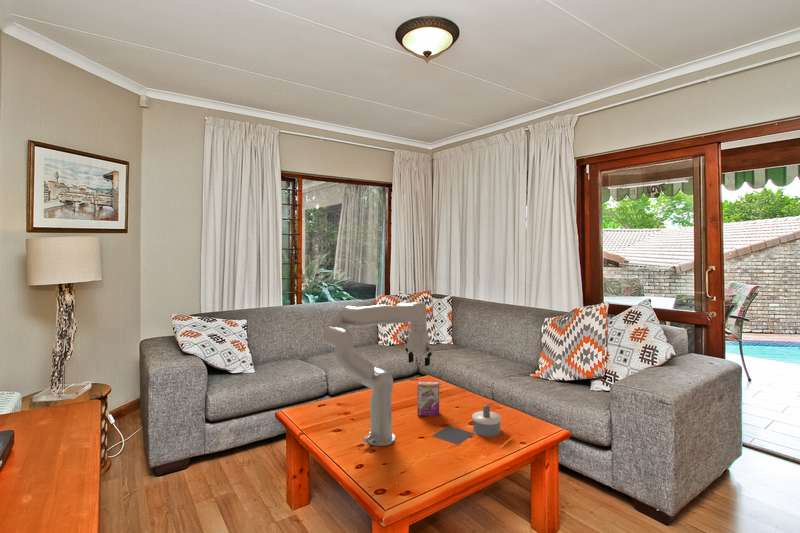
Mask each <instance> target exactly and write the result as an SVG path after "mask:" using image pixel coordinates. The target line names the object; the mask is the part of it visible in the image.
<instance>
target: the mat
mask: <svg viewBox="0 0 800 533" xmlns="http://www.w3.org/2000/svg"><path fill="white" fill-rule="evenodd" d="M475 434H476V433H475V432H471V431H468V430H466V429H462V428H459V427H456V426H451V425H447V426H445V427H444V428H442V429H440V430H439V431H436V433H434V434H432V435H431V437H433V438H436V439H440V440H443V441H446V442H449V443H452V444H455V445H457V446H459V445H460V444H461V443H463V442H464V441H466V440H467V439H469V438H470V437H472V436H473V435H475Z"/></svg>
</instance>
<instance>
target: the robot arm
mask: <svg viewBox="0 0 800 533" xmlns="http://www.w3.org/2000/svg"><path fill="white" fill-rule="evenodd" d="M407 323H410V324H409V326H408V327H409V328H410V330H409V331H408V335H407V336H408V337H407V342H406V343H404V344H403V347H404V348H405V351H406V352H407V355H408V363H409V364H411V363H413V362H415V361H414V360H415V356H414V353H416V354H423V355H424V356H425V358H424V367H428V366H430V365H431V357H432V355H433V354H434V352H435V348H434V347H433V346H431V344H430V337H429V333H428V330H427V329H428V328H427V304H426V302H424V301H413V302H400V303H397V304H396V305H389V304H387V305H386V304H377V305H368V306H352V305H347V306H344V307H343V308H341V309H340V311H339V312H338V313H336V315H335V316H334V317H333V318H332V320H330V322H329V323H328V324H327V325H326V326H325V328H324V330H323V332H322V336H321V337H322V340H323V342H324V343H325V344H326V345H328V346H330V347H334V348H335V360H336V363H337V364H338V365H339V366H340V367H341V368H343V371H344V373H345V374H346V375H347V376H349V377H350V378H352V379H353V380H355V381H356V382H358V383H360V384H361V385H363V386H365V387H367V388H369V389H371V390H372V393H371V395H370V399H369V408H370V410H369V412H370V415H369V416H370V422H369V423H370V431H369V432H368V435H367V436H366V437H364V438H363V443H364V444H365V443H368V444H369V445H372V446H375V447H386V446H389V445H392V444H394V442H395V441H396V438H397V437H396V435H395V434H394V433H393V421H392V420H393V417H392V415H393V413H392V412H393V411H392V407H393V406H392V393H393V386H394V379H393V375H392V374H391V373H390V372H389V371H387V370H386V369H383V368H380V367H377V366H374V364H373V362H372V361H371V360H370V359H368V358H366V357H365V356H363V355H362V354H360V353H359V352H357V351H356V350H355V349H354V348H355V347H354V336H353V334H352V332H351V331H350V330H348V328H350V327H353V328H364V327H371V326H377V325H378V326H379V325H391V324H394V325H395V324H407Z"/></svg>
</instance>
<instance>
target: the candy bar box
mask: <svg viewBox="0 0 800 533" xmlns="http://www.w3.org/2000/svg"><path fill="white" fill-rule="evenodd" d="M417 416H418V417H421V416H422V417H429V416H434V417H435V416H440V382H436V381H418V382H417Z"/></svg>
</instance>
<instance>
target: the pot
mask: <svg viewBox="0 0 800 533" xmlns="http://www.w3.org/2000/svg"><path fill="white" fill-rule="evenodd" d="M472 421H473V420H472ZM472 424H473V433H475V434H476V435H477V436H482V437H489V438H490V437H497V436H498V435H500V434H501V422H500V423H498V424H494V425H483V424H479V423H476V422H475V421H473V423H472Z"/></svg>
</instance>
